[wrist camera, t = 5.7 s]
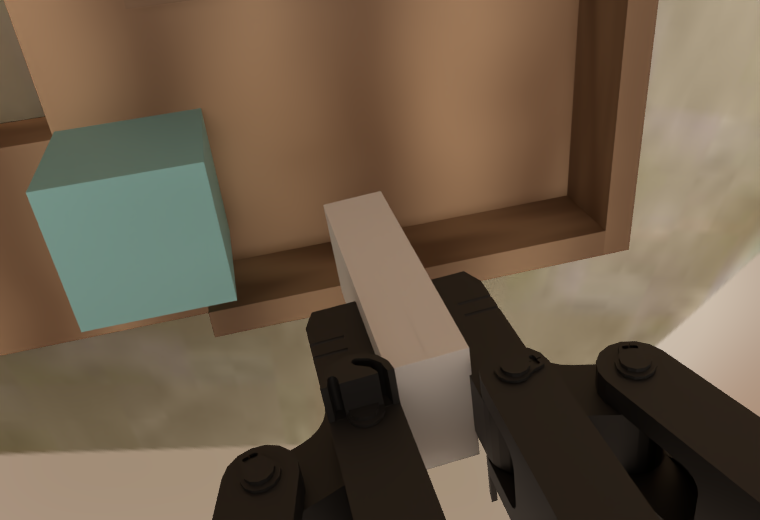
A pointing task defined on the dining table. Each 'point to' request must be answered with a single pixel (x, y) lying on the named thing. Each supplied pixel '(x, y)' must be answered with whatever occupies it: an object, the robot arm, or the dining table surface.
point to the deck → (344, 134)
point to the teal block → (134, 219)
